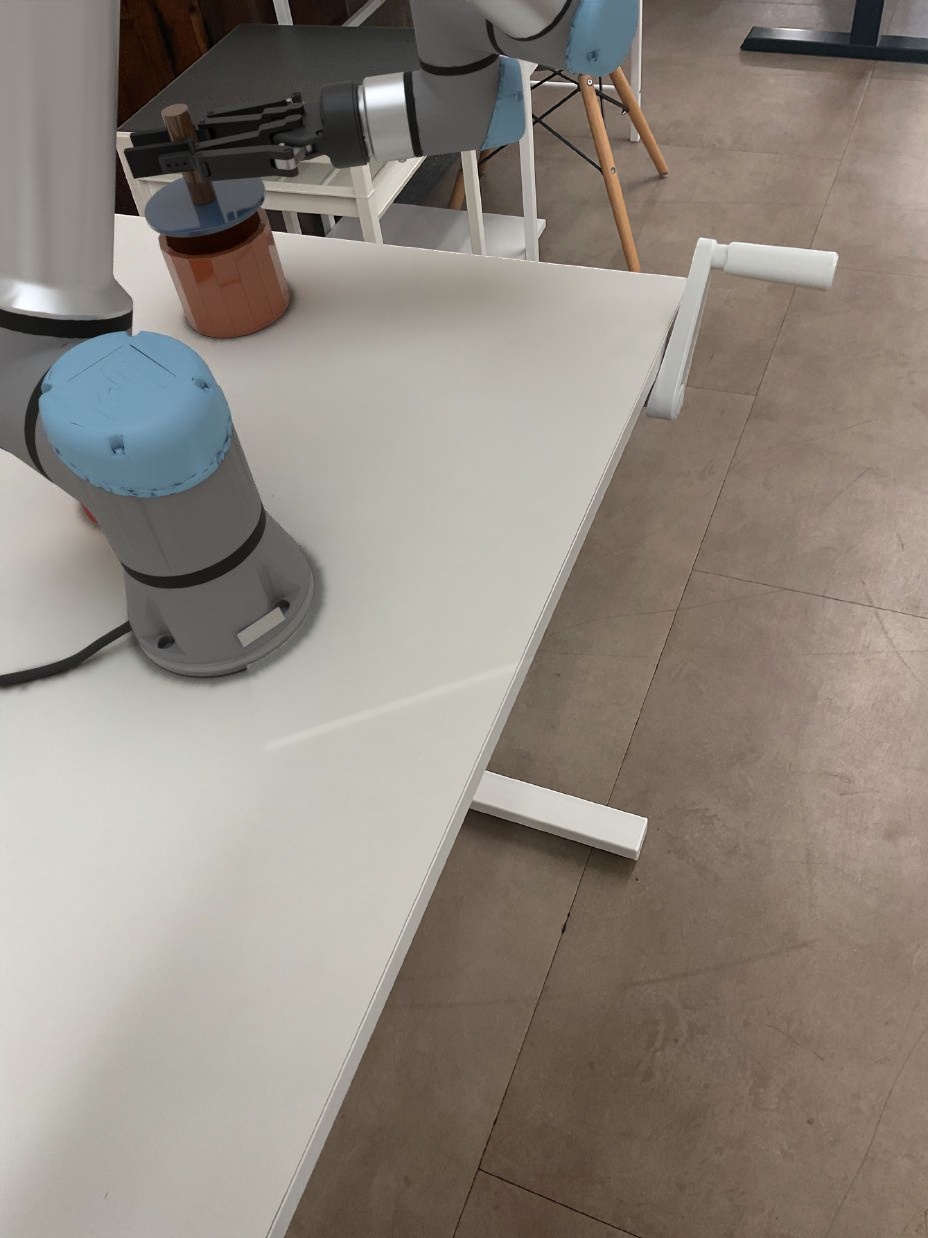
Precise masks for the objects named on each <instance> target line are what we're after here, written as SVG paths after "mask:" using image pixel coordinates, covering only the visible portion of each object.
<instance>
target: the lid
mask: <svg viewBox="0 0 928 1238" xmlns="http://www.w3.org/2000/svg"><path fill="white" fill-rule="evenodd" d="M160 113H161V117H162V120H163V123H164V125H165V128H166V129H167V132H168V134H169V137H170V140H171V142H173V141H181V140H187V138H188V137H190V136H193V137H194V140H195V143H199V140H198V137H197V134H196V131H195V128H194V124H195V123H194V122H193V118H192V116H191V113H190V110H189V107H188V105H187V104H186V103H185V104H184V103H175V104H171V105H169V106H166V107H164V108H163V109H162V110H161V112H160ZM181 174H182V177H179V178H176V179H175V180H173V181H171V182H169V183H168V184H166V185H163V186H162V187H161V188H159V190H157V191H156V192H155V193H154V194H153V195H152V196H151V197H150V198H149V199H148V201H147V202H146V204H145V207H144V211H143V214H144V218H145V221H146V224H147V225H148V226H149V228H150V229H152V230H153V232H156V233H157V234H159V235H160V234H162V235H166V236H171V237H197V236H204V235H209V234H213V233H216V232H220V231H223V230H225V229H228V228H231V227H233V226H235V225H237V224H239V223H241V222H243V221H244V220H246V219H247V218H249V217H250V216H251V215H253V214H254V213H255V212H256V211H257V210H258V209H259V208H260V207H261V208H262V206H263V204H264V202H265V200H266V197H267V190H266V186H265V183H264V181H263V179H262V177H255V178H244V179H232V180H220V181H209V182H204V181H202V180H201V177H200V174H199V173H198V172H197V170H194V171H187V172H181Z"/></svg>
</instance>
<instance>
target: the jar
mask: <svg viewBox="0 0 928 1238" xmlns="http://www.w3.org/2000/svg"><path fill="white" fill-rule="evenodd" d="M157 239H158V244H159V249H160V252H161V254H162V258H163V259H164V262H165V265H166V267H167V270H168V273H169V276H170V278H171V281H172V284H173V286H174V289H175V291H176V294H177V297H178V299H179V301H180V304H181V307H182V309H183V313H184V315H185V317H186V320H187V322H188V324H189V325H190V327H191V328H192V329H193V330H194V331H195V332H197V333H198V334H201V335H203V336H207V337H210V338H217V339H229V338H230V339H231V338H236V337H243V336H247V335H249V334H253V333H256V332H258V331H261V330H263V329H265V328H267V327H268V326H270V325H273V323H274V322H276V321H277V320H278V319H279V318H281V316H282V315H284V313H285V312H286V311H287V310H288V307H289V304H290V300H291V299H290V298H291V296H290V294H291V293H290V290H289V287H288V283H287V279H286V276H285V273H284V270H283V265H282V262H281V258H280V255H279V252H278V249H277V245H276V241H275V238H274V235H273V230H272V228H271V224H270V220H269V218H268V215H267V212H266V209H264V208H263V207H262V206H261V207H260V208H259V209H258V210H257V211H256V212H255V213H254V214H253V215H251V216H250V217H249V218H247V219H246V220H244V221H243V222H241V223H239V224H237V225H235V226H233V227H231V228H228V229H225V230H223V231H220V232H216V233H213V234H209V235H204V236H197V237H171V236H166V235H162V234H160V233H159V236H158V237H157Z"/></svg>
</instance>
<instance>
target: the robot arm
mask: <svg viewBox="0 0 928 1238" xmlns="http://www.w3.org/2000/svg"><path fill="white" fill-rule="evenodd" d="M409 6H410V13H411V18H412V25H413V30H414V36H415V37H414V38H415V42H416V48H417V55H418V56H417V57H418V61H419V68H420V69H418V70H414V71H401V72H394V73H387V74H379V75H373V76H372V75H371V76H366V77H364V79H363V80H362V85H359V83H358V82H357V81H355V79H351V80H344V81H338V82H331V83H324V84H322V85H321V86H320V88H319V92H318V102H313V101H306V102H304V100H303V96H302V92H301V91H300V90H293V91H290V92H287V93H284V94H282V95H279V96H275V97H274V96H273V97H269V98H265V99H259V100H254V101H249V102H244V103H239V104H232V105H228V106H222V107H218V108H212V109H208V110H206V111H205V112H204V115H205V118H200V119H198V120H197V121H196V124H195V123H193V124H194V128H195V131H196V134H197V137H198V140H199V143H195V140H194V137H193V136H190V137H188V138H187V140H181V141H173V142H171V140H170V137H169V134H168V132H167V129H166V127H159V128H154V129H153V128H152V129H147V130H146V129H145V130H139V131H133V132H130V133H129V136H128V137H129V140H130V142H131V144H132V147H127V148H126V147H125V148H124V149H123V154H124V157H125V159H126V162H127V166H128V168H129V171H130V173H131V175H132V178H133V180H136V179H144V178H151V177H157V176H165V175H172V174H178V173H180V174H181V173H182V172H187V171H194V170H197V172H198V173H199V174H200V177H201V180H202V181H204V182H209V181H220V180H232V179H244V178H255V177H260V178H266V177H282V178H295V177H298V176H299V175H300V171H299V167H298V164H300V163H301V162H304V161H311V160H314V159H316V158H318V157H323V156H326V157H328V158H329V161H330V163H331V165H332V166H333V168H335V169H337V170H342V169H349V168H356V167H362V166H363V167H365V166H367V165H368V163H370V162H371V158H373V159H374V160H375V162H377V163H378V164H380V163H387V162H394V161H398V163H400V164H405V163H406V162H407V160H409V159H415V158H416V159H417V158H423V157H430V156H438V155H446V154H455V153H461V152H463V153H464V152H469V151H470V152H471V151H479V152H483V151H485V150H489V149H494V148H498V147H502V146H506V145H510V144H514V143H517V142H519V141H520V140H521V139H522V138H524V135H525V133H526V128H527V124H526V123H527V121H526V118H527V117H526V105H525V96H524V83H523V75H522V67H521V63H520V61H525V62H528V63H532V64H536V65H540V66H544V67H548V68H552V69H556V70H560V71H564V72H567V73H568V74H569V75H572V76H575V75H578V74H579V75H585V76H591V77H598V78H602V77H605V76H608V75H611V74H612V73H614V72H615V71H616V70H617V69H619V67H620V66H621V65H622V64H623V63H624V61H625V60H626V58H627V57H628V55H629V53H630V51H631V47H632V44H633V42H634V39H635V38H636V35H637V30H638V25H639V17H640V3H639V0H409ZM120 20H121V0H0V449H1V450H3V451H4V452H7V453H9V454H11V455H13V456H14V457H16V458H17V459H18V460H20V461H21V462H23V463H24V464H25V465H27V466H28V467H29V468H31V469H32V470H34V471H35V472H36V473H37V474H39V475H41V476H42V477H43V478H45V479H46V480H48V481H49V482H50V483H52V484H54V485H56V487H57V488H59V489H61V490H62V491H64V492H65V493H66V494H68V495H69V496H70V497H72V498H73V499H75V500H76V501H77V502H79V503H80V504H81V503H82V504H83V505H84V506H85V507H86V508H87V509H88V510H89V511H90V513H91V514H92V515H93V516H94V518H95V519H96V521H97V522H98V524H97V525H98V526H99V527H100V529H101V531H102V533H103V534H104V537H105V538H106V540H107V542H108V544H109V545H110V547H111V548H112V551H113V552H114V554H115V556H116V557H117V560H118V561H119V563H120V565H121V566H122V568H123V576H124V587H125V588H124V589H125V599H126V611H127V618H128V620H127V621H126V622H124V623H122V624H120V625H119V626H117V627H115V628H113V629H111V630H110V631H108V632H106V633H105V634H103V635H102V636H100V637H99V638H97V639H96V640H94V641H92V642H91V643H90V644H89V645H87V646H86V647H84V648H83V649H82V650H80V651H77V652H76V653H75V654H73V655H70V656H69V657H65V658H63V659H61V660H58V661H55V662H52V663H48V664H46V665H42V666H39V667H34V668H30V669H26V670H20V671H14V672H10V673H9V672H8V673H5V674H4V673H3V674H0V686H5V685H9V684H10V685H11V684H15V683H20V682H26V681H30V680H34V679H35V680H36V679H39V678H42V677H46V676H51V675H53V674H56V673H59V672H62V671H64V670H67V669H70V668H72V667H75V666H77V665H79V664H81V663H83V662H84V661H86V660H88V659H89V658H91V657H92V656H93V655H95V654H96V653H98V652H99V651H101V650H102V649H104V648H105V647H107V646H108V645H110V644H112V643H113V642H115V641H117V640H119V639H120V638H122V637H123V636H125V635H126V634H128V633H130V632H132V634H133V636H134V638H135V639H136V641H137V643H138V645H139V646H140V648H141V650H142V651H143V653H144V654H145V655H146V656H147V657H148V658H149V659H150V660H151V661H152V662H153V663H155V664H156V665H158V666H159V667H161V668H163V669H165V670H167V671H170V672H173V673H175V674H180V675H183V676H189V677H216V676H223V675H229V674H233V673H236V672H239V671H242V670H245V669H247V668H248V667H247V666H248V665H250V664H253V663H255V662H258V661H259V660H261V659H263V658H265V657H267V656H269V655H270V654H271V653H273V652H275V651H276V650H277V649H279V648H280V647H281V646H282V645H284V644H285V643H286V642H287V641H288V640H289V639H290V638H291V637H292V636H293V635H294V634H295V632H297V630H298V629H299V628H300V626H301V625H302V623H303V622H304V620H305V618H306V617H307V615H308V613H309V611H310V608H311V606H312V602H313V597H314V593H315V592H314V590H315V583H314V577H313V571H312V569H311V566H310V563H309V561H308V558H307V555H306V554H305V552H304V551H303V550H302V548H301V546H300V545H299V544H298V543H297V541H296V540H295V539H294V537H292V536H291V535H290V534H289V533H288V532H287V531H286V530H285V529H284V528H283V527H282V526H281V524H279V522H278V521H277V520H276V519H275V518H274V517H273V516H272V515H271V514H270V513H269V512H268V511H267V510H266V509H265V506H264V504H263V501H262V499H261V495H260V493H259V490H258V487H257V484H256V481H255V479H254V476H253V474H252V471H251V468H250V465H249V463H248V460H247V456H246V454H245V451H244V449H243V447H242V444H241V441H240V438H239V435H238V432H237V430H236V428H235V424H234V421H233V418H232V412H231V409H230V406H229V402H228V400H227V398H226V396H225V393H224V391H223V389H222V388H221V387H222V386H220V385H219V384H218V383H217V381H216V378H215V376H214V375H213V372H212V370H211V369H210V366H209V365H208V364H207V362H206V361H205V360H204V359H203V357H202V356H201V355H200V354H199V353H198V352H197V351H196V350H195V349H193V348H192V347H191V346H190V345H188V344H186V343H184V342H183V341H181V340H179V339H177V338H175V337H172V336H170V335H166V334H163V333H159V332H154V331H148V330H140V331H139V332H138V333H137V334H136V335H133V324H134V322H133V320H134V300H133V297H132V296H131V295H130V294H129V293H128V292H127V290H126V289H125V288H124V287H123V286H122V285H121V284H120V283H119V281H117V279H116V278H115V275H114V258H115V257H114V254H115V253H114V252H115V251H114V249H115V216H116V215H115V214H116V213H115V212H116V174H117V173H116V172H117V138H118V104H119V103H118V99H119V98H118V97H119V64H120V63H119V61H120V60H119V59H120V22H121V21H120ZM519 60H520V61H519Z"/></svg>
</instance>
